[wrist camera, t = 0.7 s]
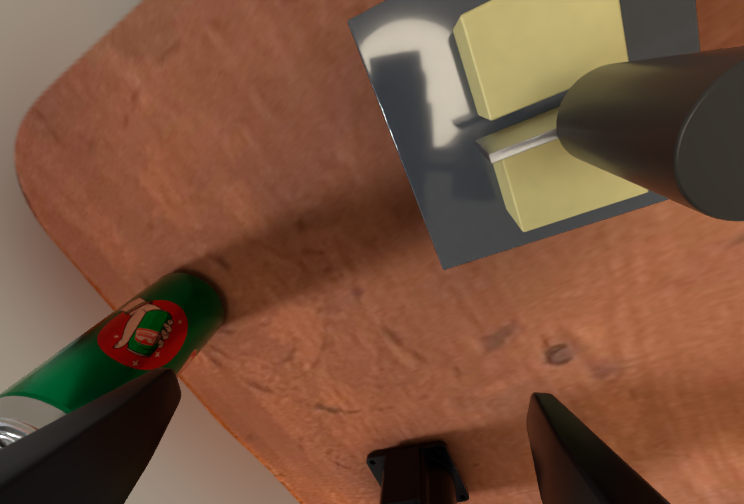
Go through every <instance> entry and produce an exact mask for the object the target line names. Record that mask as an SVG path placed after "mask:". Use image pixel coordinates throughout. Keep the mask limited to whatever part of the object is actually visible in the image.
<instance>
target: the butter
mask: <svg viewBox="0 0 744 504" xmlns="http://www.w3.org/2000/svg"><path fill="white" fill-rule="evenodd" d="M453 33H454V36H455V39H456V43H457V46H458V49H459V53H460V56H461V59H462V63H463V66H464V69H465V73H466V76H467V79H468V83H469V86H470V89H471V93H472V96H473V99H474V103H475V106H476V109H477V113H478V115H479V116H482V117H484V118H486V119H488V120H495V119H497V118H500V117H502V116H505V115H507V114H510V113H512V112H515V111H517V110H519V109H522V108H524V107H527V106H529V105H532V104H534V103H537V102H539V101H541V100H544V99H546V98H549V97H551V96H554V95H556V94H559V93H561V92H564V91H566V90H568V89H570V88H571V87H572V85H573V84H574V83H575V82H576V81H577V80H578V79H580V78H581V77H582V76H583V75H585V74H586V73H588V72H590V71H591V70H594V69H596V68H598V67H601V66H604V65H608V64H614V63H621V62H628V54H627V48H626V41H625V35H624V28H623V22H622V16H621V9H620V3H619V0H490V1H488V2H486V3H484V4H482V5H480V6H478V7H476V8H474V9H472V10H470V11H468V12H466V13H464V14H462V15H461V16H460V18H459V20H458V21H457V23H456V25H455V27H454V29H453ZM493 166H494V169H495V173H496V176H497V180H498V183H499V186H500V190H501V193H502V196H503V200H504V203H505V206H506V210H507V211H508V212H509V214H510V215H511V216H512V218H513V219H514V221H515V222H516V223H517V225H518V226H519V227H520V229H521V230H522V231H523V232H526V231H529V230H533V229H536V228H539V227H542V226H545V225H548V224H551V223H554V222H557V221H560V220H564V219H567V218H570V217H573V216H576V215H579V214H582V213H585V212H588V211H591V210H595V209H598V208H601V207H604V206H607V205H610V204H613V203H616V202H619V201H622V200H625V199H629V198H632V197H635V196H638V195H641V194H644V193H647V192H648V189H645V188H643V187H641V186H639V185H636V184H634V183H632V182H629V181H627V180H625V179H623V178H620V177H618V176H616V175H613V174H611V173H609V172H607V171H604V170H602V169H600V168H597V167H595V166H593V165H591V164H588V163H586V162H584V161H581V160H579V159H577V158H575V157H573V156H572V155H571V154H569V153H568V152H567V151H566V150H565V149H564V147H563V146H562V144H561V142H560V140H559V139H556V140H553V141H551V142H548V143H545V144H543V145H540V146H537V147H535V148H532V149H529V150H527V151H524V152H522V153H519V154H516V155H514V156H511V157H508V158H506V159H503V160H500V161H498V162H495V163H493Z"/></svg>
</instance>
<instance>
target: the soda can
mask: <svg viewBox="0 0 744 504" xmlns="http://www.w3.org/2000/svg"><path fill="white" fill-rule="evenodd" d="M223 319H224V309H223V305H222V302H221V299H220V297H219V295H218V294H217V292H216V291H215V290H214V288H213V287H212V286H211V285H210V284H208V283H207V282H206V281H204V280H202V279H200V278H198V277H196V276H193V275H190V274H185V273H171V274H167V275H164V276H163V277H161V278H160V279H158V280H157V281H155V282H154V283H153V284H151V285H150V286H148V287H147V288H146V289H144V290H143V291H142V292H140V293H139V294H137V295H136V296H135V297H133V298H132V299H131V300H129V301H128V302H126V303H125V304H124V305H122V306H121V307H119V308H118V309H117V310H115V311H114V312H113V313H111V314H110V315H108V316H107V317H106V318H104V319H103V320H102V321H100V322H99V323H97V324H96V325H95V326H94V327H92V328H90V329H89V330H88V331H87V332H85V333H84V334H82V335H81V336H80V337H78V338H77V339H75V340H74V341H73V342H71V343H70V344H68V345H67V346H66V347H64V348H63V349H62V350H60V351H59V352H57V353H56V354H55V355H53V356H52V357H50V358H49V359H48V360H46V361H45V362H44V363H42V364H41V365H39V366H38V367H37V368H35V369H34V370H32V371H31V372H30V373H28V374H27V375H26V376H25V377H23V378H22V379H20V380H19V381H17V382H16V383H15V384H13V385H12V386H10V387H9V388H8V389H6V390H5V391H3V392H2V393H1V394H0V449H1V448H3V447H5V446H7V445H9V444H11V443H13V442H15V441H17V440H18V439H20V438H22V437H24V436H26V435H28V434H30V433H32V432H34V431H36V430H38V429H40V428H42V427H43V426H45V425H47V424H49V423H51V422H53V421H55V420H57V419H59V418H61V417H63V416H65V415H66V414H68V413H70V412H72V411H74V410H76V409H78V408H80V407H82V406H84V405H86V404H88V403H90V402H91V401H93V400H95V399H97V398H99V397H101V396H103V395H105V394H107V393H109V392H111V391H113V390H114V389H116V388H118V387H120V386H122V385H124V384H126V383H128V382H130V381H132V380H134V379H136V378H137V377H139V376H141V375H143V374H145V373H147V372H149V371H151V370H153V369H155V368H159V367H161V368H171V369H173V370H174V371H175V373H176V376H177V378H178V377H179V375H180V374H181V373H182V372H183V371H184V370H185V368H186V367H187V366H188V365H189V364H190V362H191V361H192V360H193V359H194V358H195V356H196V355H197V354H198V353H199V352H200V351H201V349H202V348H203V347H204V346H205V345H206V343H207V342H208V341H209V340H210V339H211V337H212V336H213V335H214V334H215V333H216V331H217V330H218V329H219V328H220V326H221V325H222V322H223Z"/></svg>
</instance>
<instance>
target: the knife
mask: <svg viewBox="0 0 744 504" xmlns="http://www.w3.org/2000/svg"><path fill="white" fill-rule="evenodd" d="M556 139H559V140H560V142H561V144H562V146H563V147H564V149H565V150H566V151H567V152H568V153H569V154H571V155H572V156H573V157H575V158H577V159H579V160H581V161H584V162H586V163H588V164H591V165H593V166H595V167H597V168H600V169H602V170H604V171H607V172H609V173H611V174H613V175H616V176H618V177H620V178H623V179H625V180H627V181H629V182H632V183H634V184H636V185H639V186H641V187H643V188H645V189H648V190H650V191H652V192H655V193H657V194H659V195H661V196H664V197H666V198H668V199H671V200H673V201H675V202H677V203H680V204H682V205H684V206H687V207H689V208H691V209H693V210H696V211H698V212H700V213H703V214H705V215H708V216H710V217H713V218H716V219H721V220H727V221H744V46H740V47H733V48H725V49H718V50H710V51H703V52H696V53H688V54H681V55H673V56H666V57H658V58H651V59H643V60H636V61H628V62H621V63H614V64H608V65H604V66H601V67H598V68H596V69H594V70H591V71H590V72H588V73H586V74H585V75H583V76H582V77H581V78H580V79H578V80H577V81H576V82H575V83H574V84H573V85H572V87H571V88H570V89H569V90H568V92H567V93H566V95H565V96H564V98H563V100H562V102H561V104H560V107H557V108H555V109H552V110H550V111H547V112H545V113H542V114H540V115H537V116H535V117H532V118H530V119H527V120H525V121H522V122H520V123H517V124H515V125H512V126H510V127H507V128H505V129H502V130H500V131H497V132H495V133H492V134H490V135H487V136H485V137H482V138H480V139H477V140H475V141H474V143H475V146H476V148H477V149H478V150H479V151H480V152H481V153H482V154H483V155H484V156H485V158H486V159H487V160H488V161H489V162H490V163H491V164H492V163H495V162H498V161H500V160H503V159H506V158H508V157H511V156H514V155H516V154H519V153H522V152H524V151H527V150H529V149H532V148H535V147H537V146H540V145H543V144H545V143H548V142H551V141H553V140H556Z"/></svg>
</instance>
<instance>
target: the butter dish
mask: <svg viewBox="0 0 744 504" xmlns="http://www.w3.org/2000/svg"><path fill="white" fill-rule="evenodd" d="M488 1H490V0H385V1H383V2H381V3H379V4H377V5H375V6H374V7H372V8H370V9H368V10H366V11H364V12H362V13H360V14H359V15H357V16H355V17H353V18H351V19H349V20H348V25H349V28H350V30H351V33H352V36H353V38H354V41H355V43H356V46H357V49H358V51H359V54H360V56H361V59H362V62H363V64H364V67H365V69H366V72H367V74H368V77H369V80H370V82H371V85H372V87H373V90H374V93H375V95H376V98H377V100H378V103H379V106H380V108H381V111H382V113H383V116H384V118H385V121H386V124H387V126H388V129H389V131H390V134H391V137H392V139H393V142H394V144H395V147H396V149H397V152H398V155H399V157H400V160H401V162H402V165H403V168H404V170H405V173H406V175H407V178H408V181H409V183H410V186H411V188H412V191H413V193H414V196H415V199H416V201H417V204H418V206H419V209H420V212H421V214H422V217H423V219H424V222H425V225H426V227H427V230H428V232H429V235H430V237H431V240H432V243H433V245H434V248H435V250H436V253H437V256H438V258H439V261H440V263H441V266H442V269H443V270H445V269H449V268H452V267H455V266H458V265H461V264H464V263H468V262H471V261H474V260H477V259H480V258H484V257H487V256H490V255H493V254H496V253H499V252H503V251H506V250H509V249H512V248H515V247H519V246H522V245H525V244H528V243H531V242H534V241H538V240H541V239H544V238H547V237H550V236H554V235H557V234H560V233H563V232H566V231H570V230H573V229H576V228H579V227H582V226H585V225H589V224H592V223H595V222H598V221H601V220H605V219H608V218H611V217H614V216H617V215H620V214H624V213H627V212H630V211H633V210H636V209H640V208H643V207H646V206H649V205H652V204H655V203H659V202H662V201H665V200H668V198H666V197H664V196H661V195H659V194H657V193H655V192H652V191H650V190H648V192H647V193H644V194H641V195H638V196H635V197H632V198H629V199H625V200H622V201H619V202H616V203H613V204H610V205H607V206H604V207H601V208H598V209H595V210H591V211H588V212H585V213H582V214H579V215H576V216H573V217H570V218H567V219H564V220H560V221H557V222H554V223H551V224H548V225H545V226H542V227H539V228H536V229H533V230H529V231H526V232H523V231H522V230H521V229H520V227H519V226H518V225H517V223H516V222H515V221H514V219H513V218H512V216H511V215H510V214H509V212H508V211H507V210H506V206H505V203H504V200H503V196H502V193H501V190H500V186H499V183H498V180H497V176H496V173H495V169H494V166H493V163H492V164H491V163H490V162H489V161H488V160H487V159H486V158H485V156H484V155H483V154H482V153H481V152H480V151H479V150H478V149H477V148H476V146H475V143H474V141H475V140H477V139H480V138H482V137H485V136H487V135H490V134H492V133H495V132H497V131H500V130H502V129H505V128H507V127H510V126H512V125H515V124H517V123H520V122H522V121H525V120H527V119H530V118H532V117H535V116H537V115H540V114H542V113H545V112H547V111H550V110H552V109H555V108H557V107H560V104H561V102H562V100H563V98H564V96H565V95H566V93H567V92H568V90H569V89H568V90H566V91H564V92H561V93H559V94H556V95H554V96H551V97H549V98H546V99H544V100H541V101H539V102H537V103H534V104H532V105H529V106H527V107H524V108H522V109H519V110H517V111H515V112H512V113H510V114H507V115H505V116H502V117H500V118H497V119H495V120H488V119H486V118H484V117H482V116H479V115H478V113H477V109H476V106H475V103H474V99H473V96H472V93H471V89H470V86H469V83H468V79H467V76H466V73H465V69H464V66H463V63H462V59H461V56H460V53H459V49H458V46H457V43H456V39H455V36H454V33H453V29H454V27H455V25H456V23H457V21H458V20H459V18H460V16H461V15H462V14H464V13H466V12H468V11H470V10H472V9H474V8H476V7H478V6H480V5H482V4H484V3H486V2H488ZM619 3H620V9H621V16H622V22H623V28H624V35H625V41H626V48H627V54H628V61H636V60H643V59H651V58H658V57H666V56H673V55H681V54H688V53H696V52H700V42H699V31H698V20H697V9H696V0H619Z"/></svg>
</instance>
